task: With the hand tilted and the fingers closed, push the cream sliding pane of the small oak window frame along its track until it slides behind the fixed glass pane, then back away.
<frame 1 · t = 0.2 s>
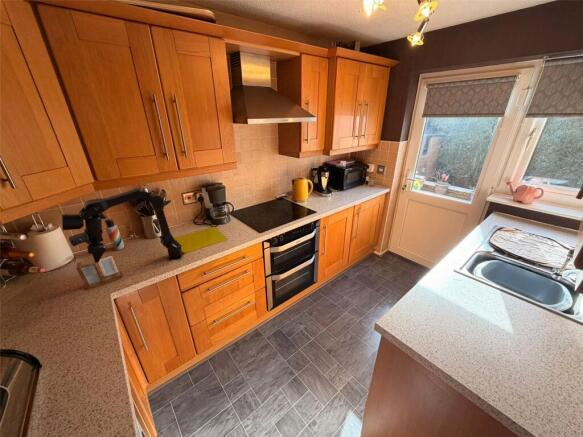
hand: (95, 258, 109), 15 cm above the worktop, tool pointing down, fingers open, 9 cm apart
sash: (108, 266, 118), point 7 cm above the worktop, slide at 0.0 cm
lotion bottle: (119, 248, 146), on the worktop
window frame: (104, 280, 118), on the worktop
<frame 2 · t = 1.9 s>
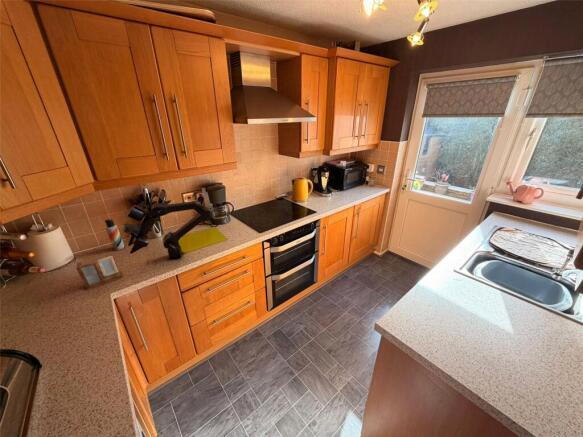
hand: (129, 249, 122), 13 cm above the worktop, tool tilted 45°, fingers open, 9 cm apart
nothing on the worktop moved.
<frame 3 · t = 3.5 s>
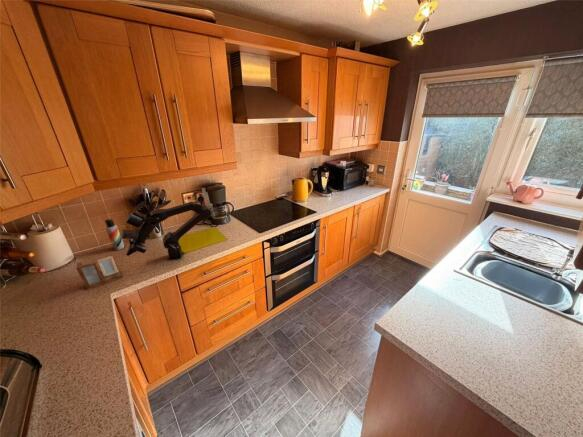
hand: (127, 255, 122), 10 cm above the worktop, tool tilted 45°, fingers closed
nothing on the worktop moved.
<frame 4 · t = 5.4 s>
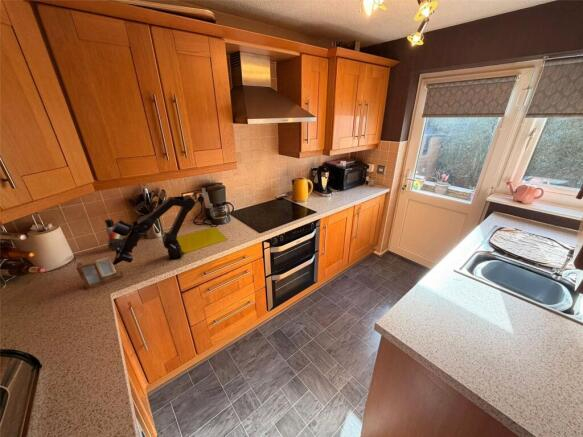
hand: (113, 264, 119), 7 cm above the worktop, tool tilted 45°, fingers closed, pressing on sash
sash: (106, 266, 118), point 7 cm above the worktop, slide at 0.8 cm, touching gripper
everything else where it was.
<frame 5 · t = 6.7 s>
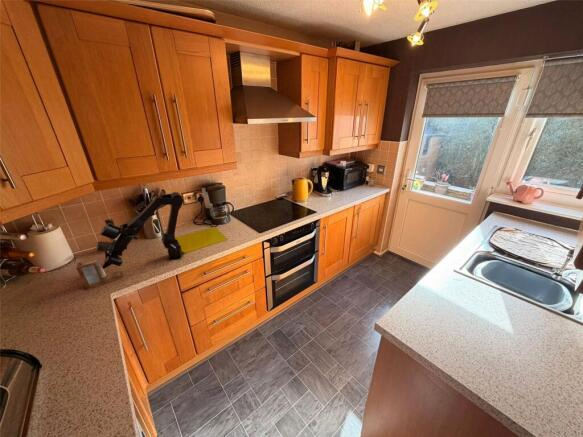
hand: (103, 267, 117), 7 cm above the worktop, tool tilted 45°, fingers closed
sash: (95, 270, 115), point 7 cm above the worktop, slide at 5.3 cm
everything else where it was.
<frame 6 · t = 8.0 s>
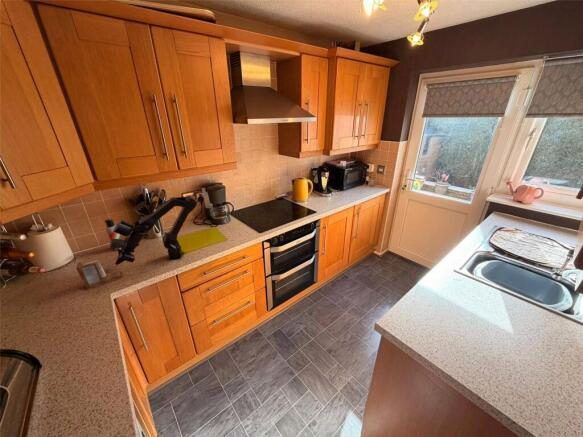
hand: (116, 264, 120), 6 cm above the worktop, tool tilted 45°, fingers closed
nothing on the worktop moved.
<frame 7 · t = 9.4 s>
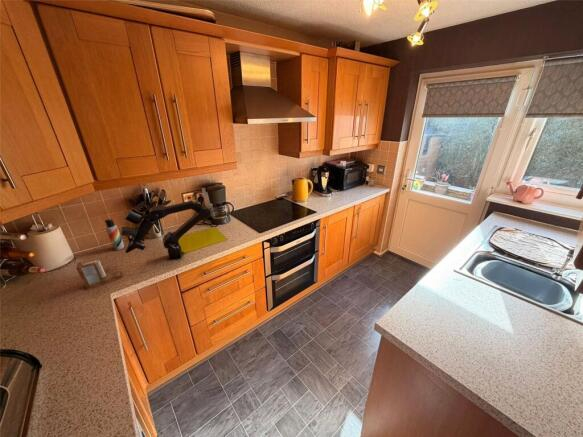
hand: (126, 252, 121), 11 cm above the worktop, tool tilted 45°, fingers closed
nothing on the worktop moved.
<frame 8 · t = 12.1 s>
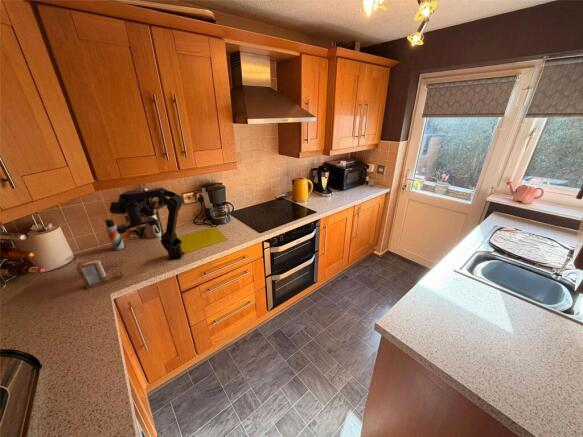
hand: (141, 238, 133), 12 cm above the worktop, tool pointing down, fingers closed
nothing on the worktop moved.
at the end: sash slide at 5.3 cm; lotion bottle moved 0.2 cm from its start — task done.
